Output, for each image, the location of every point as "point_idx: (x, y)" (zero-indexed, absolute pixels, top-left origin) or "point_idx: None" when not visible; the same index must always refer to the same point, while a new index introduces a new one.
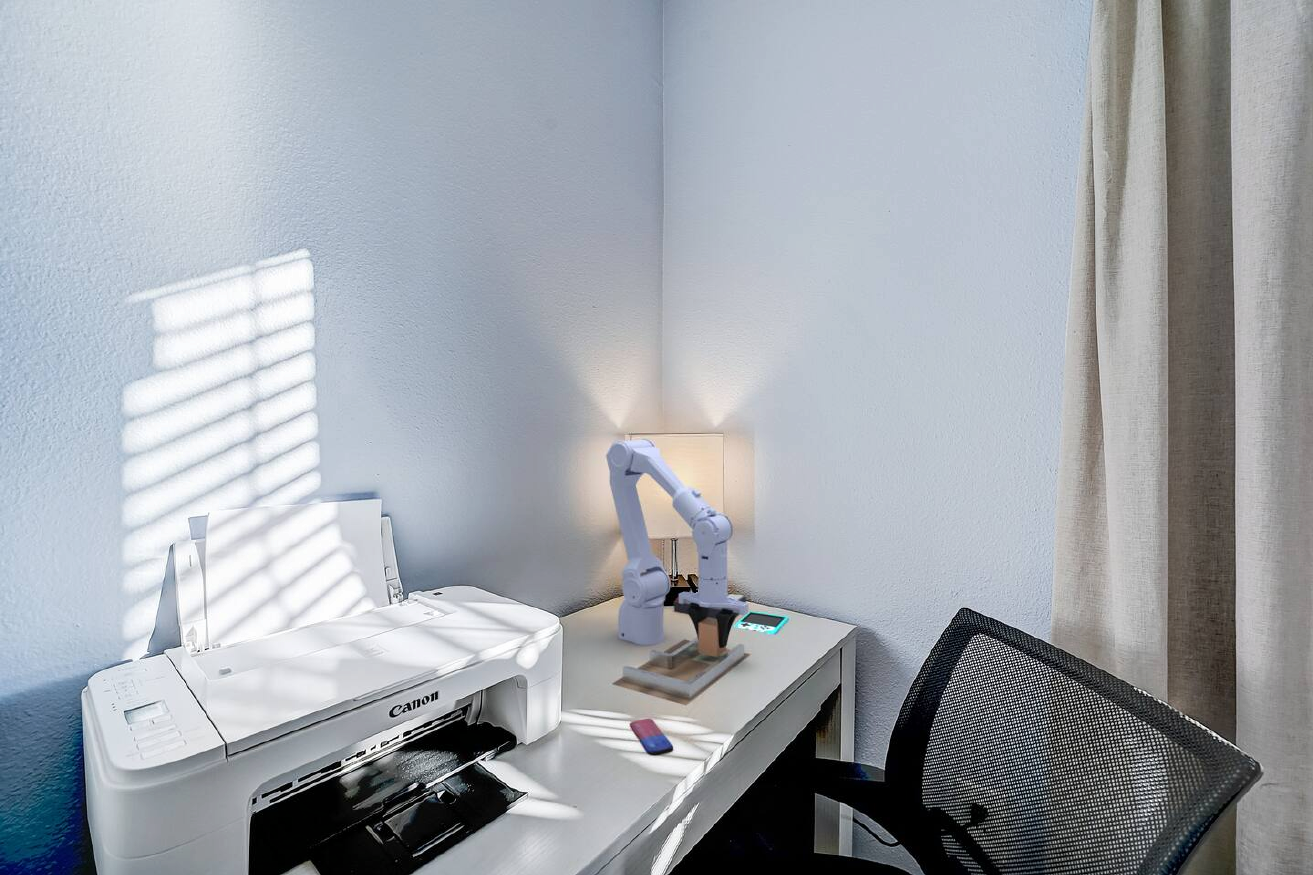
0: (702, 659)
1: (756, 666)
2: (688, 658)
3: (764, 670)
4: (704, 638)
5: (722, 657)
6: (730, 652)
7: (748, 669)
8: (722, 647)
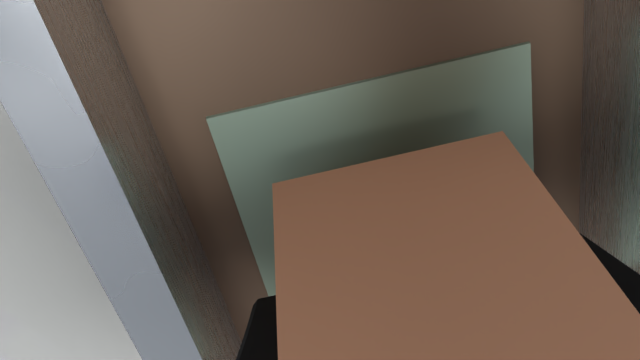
0: (445, 124)
1: (97, 356)
2: (583, 46)
3: (3, 349)
4: (483, 267)
5: (77, 140)
6: (145, 300)
7: (90, 290)
8: (253, 308)
